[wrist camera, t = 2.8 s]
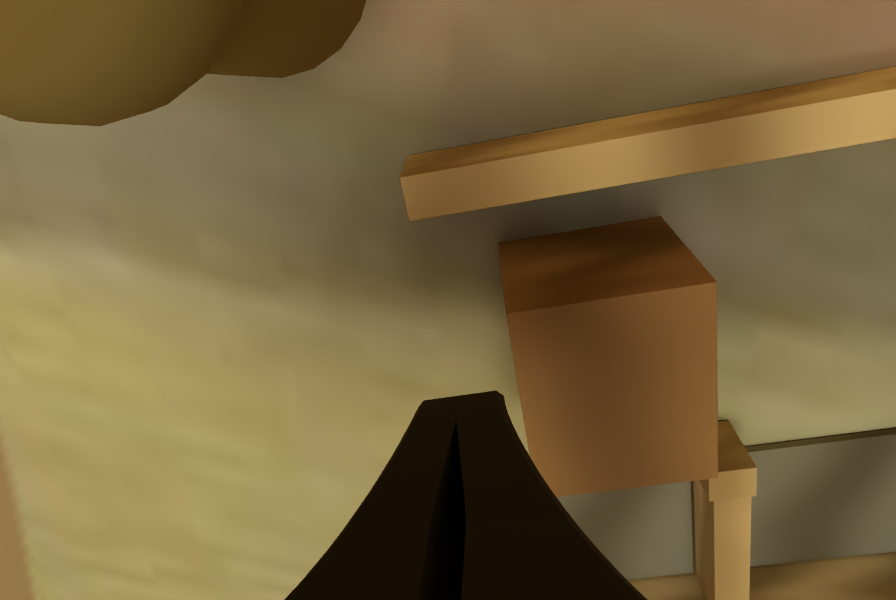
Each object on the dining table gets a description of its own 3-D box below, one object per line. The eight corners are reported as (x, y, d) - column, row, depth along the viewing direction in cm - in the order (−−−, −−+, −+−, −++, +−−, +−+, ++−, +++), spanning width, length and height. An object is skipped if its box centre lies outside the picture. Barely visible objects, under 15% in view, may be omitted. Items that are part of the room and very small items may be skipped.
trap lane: (1087, 31, 17) (1216, 39, 14) (968, 560, 25) (1032, 634, 22) (408, 155, 19) (396, 184, 16) (505, 608, 27) (509, 681, 24)
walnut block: (659, 215, 19) (716, 281, 15) (667, 378, 22) (718, 477, 17) (498, 241, 20) (506, 313, 15) (523, 398, 23) (537, 499, 18)
